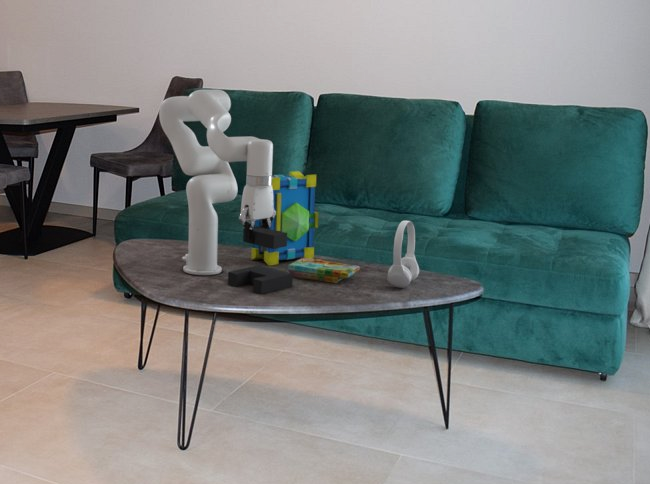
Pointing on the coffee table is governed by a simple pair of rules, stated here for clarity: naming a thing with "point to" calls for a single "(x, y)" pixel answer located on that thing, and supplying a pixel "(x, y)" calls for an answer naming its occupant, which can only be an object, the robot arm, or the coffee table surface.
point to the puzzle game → (321, 270)
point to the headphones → (407, 265)
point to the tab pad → (268, 237)
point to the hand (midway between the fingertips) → (256, 240)
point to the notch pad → (261, 278)
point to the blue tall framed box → (291, 218)
